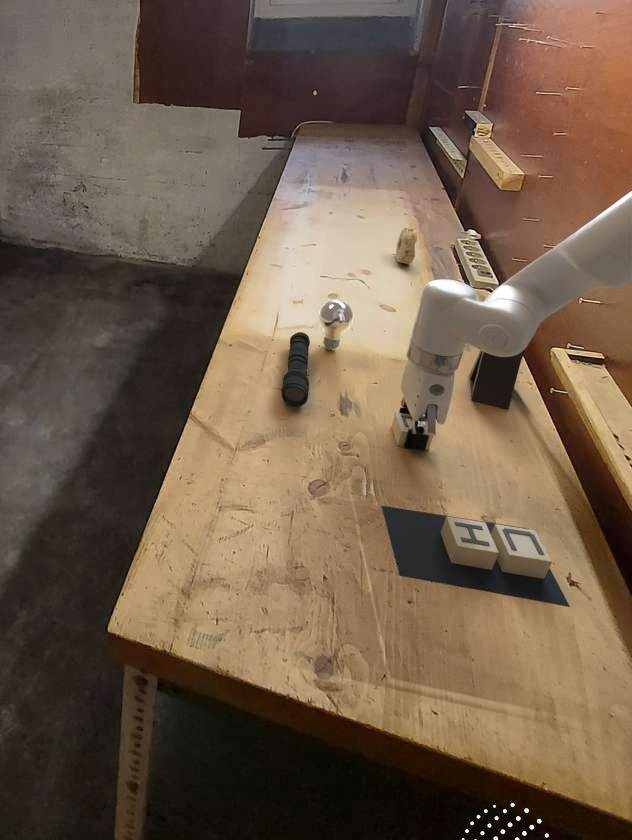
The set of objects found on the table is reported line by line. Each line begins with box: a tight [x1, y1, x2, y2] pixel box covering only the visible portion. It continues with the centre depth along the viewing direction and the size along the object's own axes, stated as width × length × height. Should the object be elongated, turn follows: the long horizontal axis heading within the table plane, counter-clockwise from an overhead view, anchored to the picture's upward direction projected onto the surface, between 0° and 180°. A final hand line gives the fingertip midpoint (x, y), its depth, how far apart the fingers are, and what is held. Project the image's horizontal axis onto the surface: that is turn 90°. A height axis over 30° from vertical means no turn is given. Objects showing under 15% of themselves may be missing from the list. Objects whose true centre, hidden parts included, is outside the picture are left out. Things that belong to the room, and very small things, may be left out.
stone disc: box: [395, 227, 418, 265], centre depth 162 cm, size 10×4×10 cm, turn 161°
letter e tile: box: [390, 412, 434, 451], centre depth 99 cm, size 5×5×4 cm
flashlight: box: [280, 331, 311, 407], centre depth 116 cm, size 5×21×5 cm, turn 159°
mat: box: [380, 505, 570, 608], centre depth 79 cm, size 20×12×1 cm, turn 76°
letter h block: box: [441, 515, 499, 570], centre depth 79 cm, size 5×5×4 cm
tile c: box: [491, 523, 553, 579], centre depth 77 cm, size 5×5×4 cm
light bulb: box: [318, 299, 355, 351], centre depth 123 cm, size 7×7×12 cm
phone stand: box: [469, 348, 526, 410], centre depth 108 cm, size 9×6×12 cm, turn 150°
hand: (410, 436), depth 100 cm, fingers closed on letter e tile, 5 cm apart
